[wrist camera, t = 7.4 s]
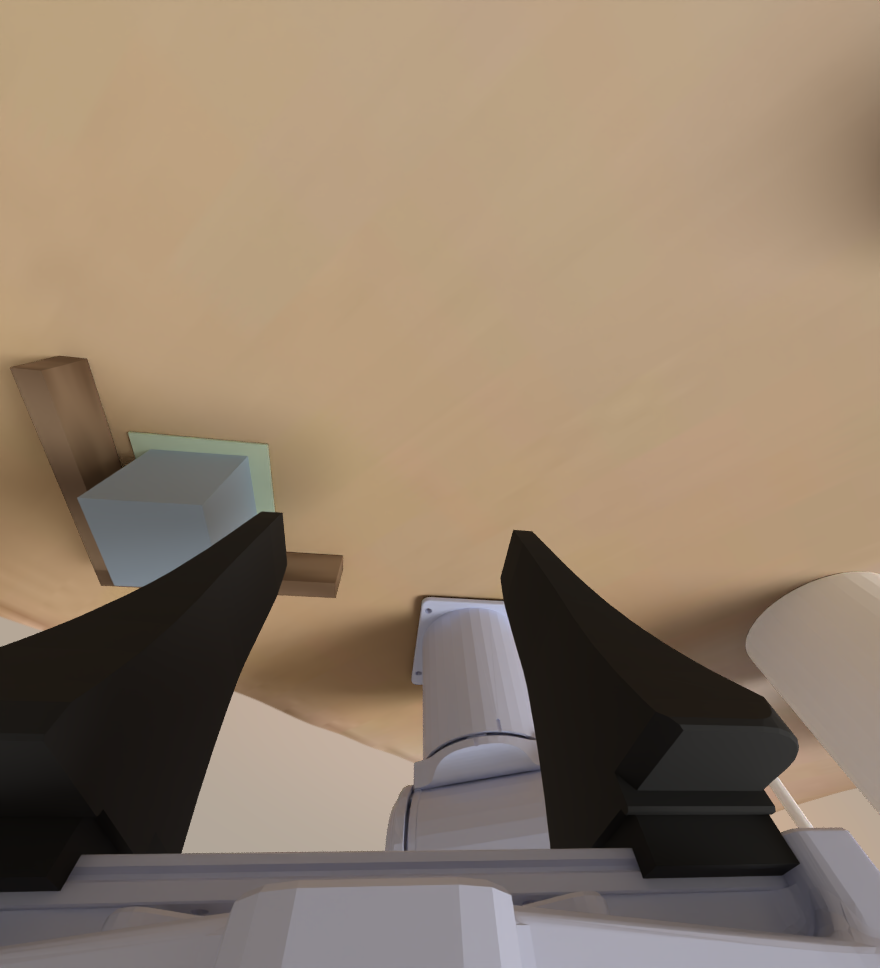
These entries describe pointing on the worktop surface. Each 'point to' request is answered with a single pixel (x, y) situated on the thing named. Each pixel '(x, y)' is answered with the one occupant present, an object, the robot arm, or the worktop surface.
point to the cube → (166, 511)
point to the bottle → (829, 667)
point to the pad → (254, 451)
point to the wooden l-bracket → (116, 461)
